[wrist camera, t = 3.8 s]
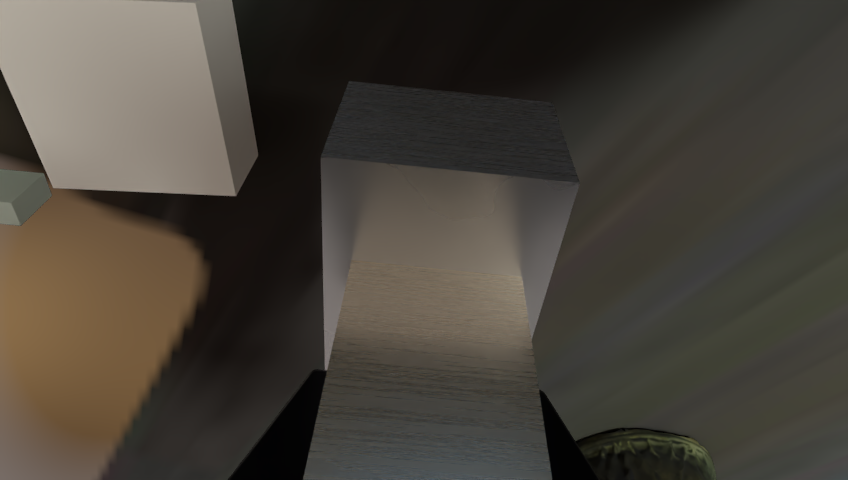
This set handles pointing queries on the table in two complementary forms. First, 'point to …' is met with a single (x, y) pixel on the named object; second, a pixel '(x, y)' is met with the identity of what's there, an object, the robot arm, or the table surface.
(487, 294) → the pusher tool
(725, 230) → the table surface
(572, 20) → the table surface
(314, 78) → the table surface
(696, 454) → the carnation
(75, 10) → the tile
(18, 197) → the bay
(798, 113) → the table surface
